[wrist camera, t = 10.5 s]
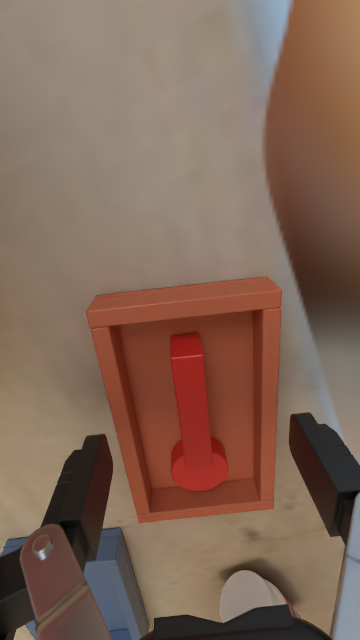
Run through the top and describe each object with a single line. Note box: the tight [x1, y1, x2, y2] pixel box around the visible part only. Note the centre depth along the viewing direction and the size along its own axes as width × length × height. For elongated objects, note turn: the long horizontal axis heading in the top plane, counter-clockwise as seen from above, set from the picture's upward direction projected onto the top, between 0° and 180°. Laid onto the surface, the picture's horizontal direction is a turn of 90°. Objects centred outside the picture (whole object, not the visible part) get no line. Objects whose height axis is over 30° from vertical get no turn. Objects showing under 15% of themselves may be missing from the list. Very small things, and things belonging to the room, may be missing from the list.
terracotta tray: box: [86, 277, 282, 523], centre depth 16 cm, size 14×8×2 cm, turn 6°
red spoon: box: [170, 332, 228, 491], centre depth 15 cm, size 10×3×2 cm, turn 6°
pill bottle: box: [220, 570, 301, 623], centre depth 22 cm, size 5×5×8 cm
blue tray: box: [0, 528, 149, 640], centre depth 23 cm, size 14×8×2 cm, turn 6°
